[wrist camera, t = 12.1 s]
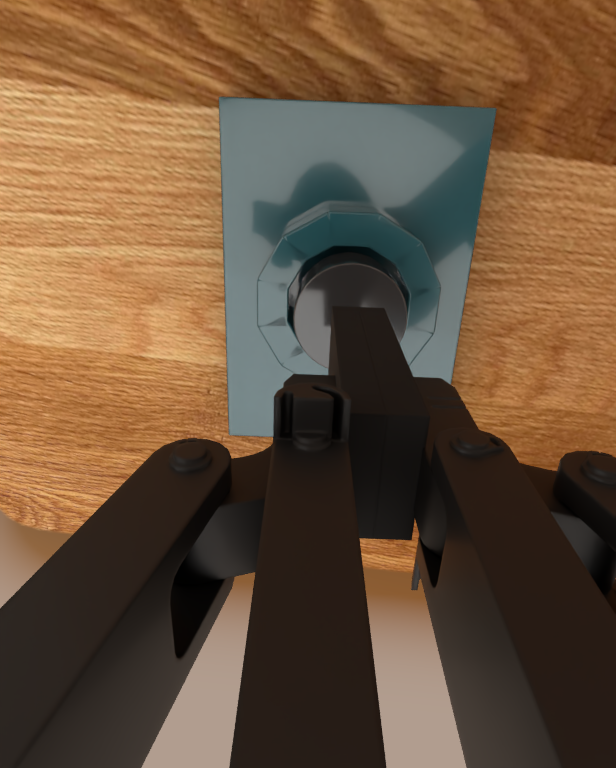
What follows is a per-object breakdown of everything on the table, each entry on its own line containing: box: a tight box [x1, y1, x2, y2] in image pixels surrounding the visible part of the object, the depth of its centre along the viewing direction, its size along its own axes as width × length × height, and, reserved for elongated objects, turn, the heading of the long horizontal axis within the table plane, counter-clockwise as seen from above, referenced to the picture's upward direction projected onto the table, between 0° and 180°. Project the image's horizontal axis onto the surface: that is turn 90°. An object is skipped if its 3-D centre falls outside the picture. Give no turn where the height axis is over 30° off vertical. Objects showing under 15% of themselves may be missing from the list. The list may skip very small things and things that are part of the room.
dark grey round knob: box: [293, 252, 407, 369], centre depth 19 cm, size 4×4×2 cm
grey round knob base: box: [219, 97, 497, 437], centre depth 22 cm, size 14×10×4 cm
